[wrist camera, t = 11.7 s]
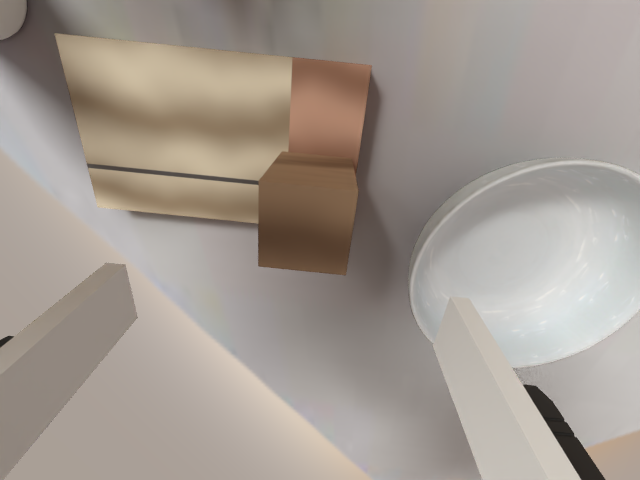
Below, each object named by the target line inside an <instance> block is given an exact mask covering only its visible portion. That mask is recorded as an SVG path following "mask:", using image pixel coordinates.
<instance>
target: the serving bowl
mask: <svg viewBox="0 0 640 480" xmlns="http://www.w3.org/2000/svg"><path fill="white" fill-rule="evenodd" d="M408 291H409V301H410V306H411V310H412V313H413V316H414V318H415V321H416V323H417V325H418V326H419V328H420V330H421V331H422V333H423V334H424V335H425V336H426V338H427V339H428V340H429V341H430V342H431V343H432V344H434V341H435V338H436V336H437V333H438V330H439V327H440V324H441V321H442V319H443V316H444V313H445V310H446V307H447V304H448V301H449V299H450V296H451V297H461V298H469V299H470V300H471V302H472V304H473V305H474V307H475V309H476V310H477V312H478V313H479V315H480V317H481V318H482V320H483V322H484V323H485V325H486V326H487V328H488V330H489V331H490V333H491V335H492V336H493V338H494V339H495V341H496V343H497V344H498V346H499V347H500V349H501V351H502V352H503V354H504V356H505V357H506V359H507V360H508V362H509V364H510V365H511V367H512V368H524V367H532V366H538V365H543V364H547V363H551V362H555V361H558V360H561V359H564V358H567V357H570V356H572V355H575V354H577V353H579V352H582V351H584V350H586V349H588V348H590V347H592V346H594V345H595V344H597V343H599V342H601V341H602V340H604V339H605V338H607V337H608V336H610V335H611V334H613V333H614V332H616V331H617V330H618V329H620V328H621V327H622V326H624V325H625V324H626V323H627V322H628V321H629V320H630V319H631V318H633V317H634V316H635V315H636V314H637V313H638V311H639V310H640V175H639V174H637V173H635V172H633V171H631V170H629V169H627V168H625V167H622V166H619V165H616V164H612V163H608V162H604V161H597V160H590V159H581V158H544V159H535V160H529V161H524V162H519V163H516V164H512V165H509V166H505V167H502V168H500V169H497V170H494V171H492V172H490V173H487V174H485V175H483V176H481V177H479V178H477V179H476V180H474V181H472V182H470V183H469V184H467V185H466V186H464V187H463V188H461V189H460V190H459V191H457V192H456V193H455V194H453V195H452V196H451V197H450V198H449V199H447V200H446V201H445V202H444V203H443V204H442V205H441V206H440V207H439V208H438V209H437V211H436V212H435V213H434V214H433V215H432V217H431V218H430V219H429V221H428V222H427V223H426V225H425V227H424V228H423V230H422V232H421V233H420V235H419V237H418V239H417V242H416V244H415V246H414V249H413V252H412V256H411V260H410V265H409V272H408Z"/></svg>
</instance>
